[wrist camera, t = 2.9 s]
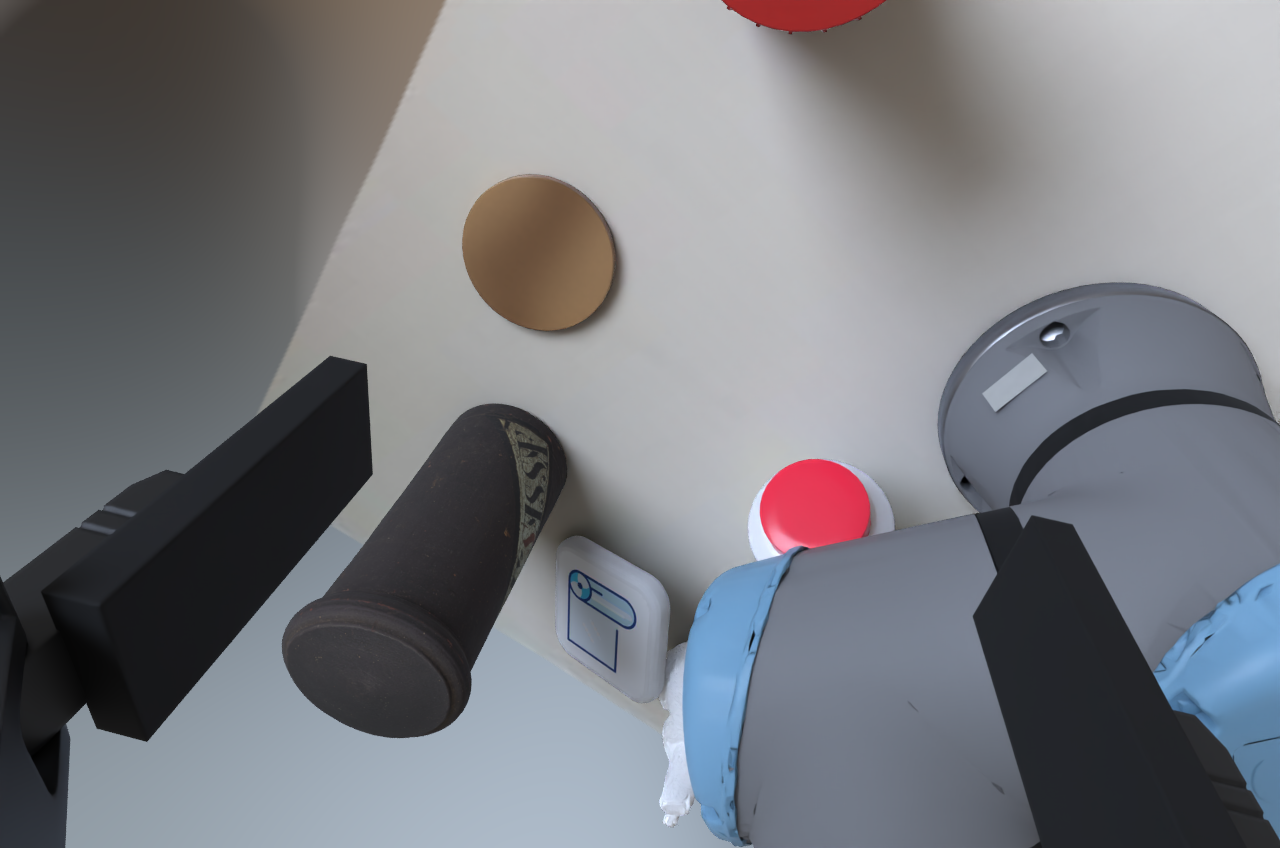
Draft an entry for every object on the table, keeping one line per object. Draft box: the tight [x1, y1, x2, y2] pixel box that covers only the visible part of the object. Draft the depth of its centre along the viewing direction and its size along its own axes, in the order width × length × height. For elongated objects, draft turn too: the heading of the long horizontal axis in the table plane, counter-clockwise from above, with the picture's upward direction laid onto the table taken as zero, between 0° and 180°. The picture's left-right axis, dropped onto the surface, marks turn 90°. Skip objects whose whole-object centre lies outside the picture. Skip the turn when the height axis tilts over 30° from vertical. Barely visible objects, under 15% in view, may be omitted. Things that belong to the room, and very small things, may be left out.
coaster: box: [462, 174, 615, 331], centre depth 42 cm, size 9×9×1 cm
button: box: [555, 536, 670, 703], centre depth 50 cm, size 10×2×10 cm
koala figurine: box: [658, 641, 695, 828], centre depth 50 cm, size 8×7×12 cm
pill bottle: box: [748, 459, 895, 561], centre depth 41 cm, size 8×8×11 cm
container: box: [282, 404, 567, 738], centre depth 41 cm, size 9×9×20 cm
